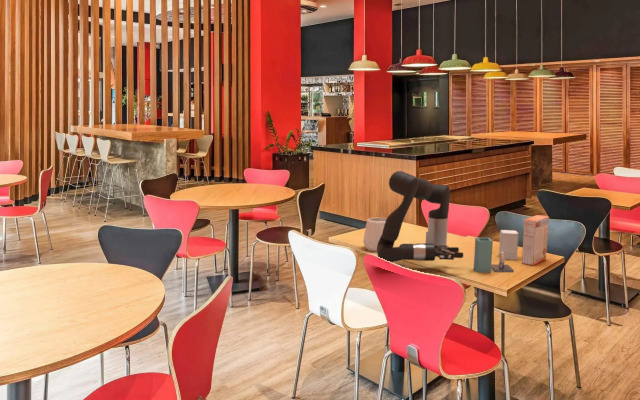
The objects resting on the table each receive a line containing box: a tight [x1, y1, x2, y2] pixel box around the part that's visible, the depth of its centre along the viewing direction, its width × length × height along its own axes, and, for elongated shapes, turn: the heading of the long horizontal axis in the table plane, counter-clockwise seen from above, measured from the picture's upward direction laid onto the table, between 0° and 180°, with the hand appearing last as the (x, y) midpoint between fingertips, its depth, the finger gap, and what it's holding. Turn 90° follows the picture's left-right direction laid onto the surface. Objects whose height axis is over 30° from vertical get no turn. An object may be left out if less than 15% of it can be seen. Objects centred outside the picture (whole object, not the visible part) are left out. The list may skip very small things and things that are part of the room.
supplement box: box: [498, 229, 520, 261], centre depth 251 cm, size 7×7×13 cm
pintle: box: [491, 252, 515, 273], centre depth 233 cm, size 8×8×8 cm
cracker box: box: [521, 214, 550, 267], centre depth 244 cm, size 14×6×21 cm, turn 135°
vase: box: [363, 217, 387, 253], centre depth 264 cm, size 14×14×15 cm
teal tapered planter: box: [473, 237, 494, 274], centre depth 230 cm, size 6×6×14 cm
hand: (460, 252), depth 230 cm, fingers open, 8 cm apart
